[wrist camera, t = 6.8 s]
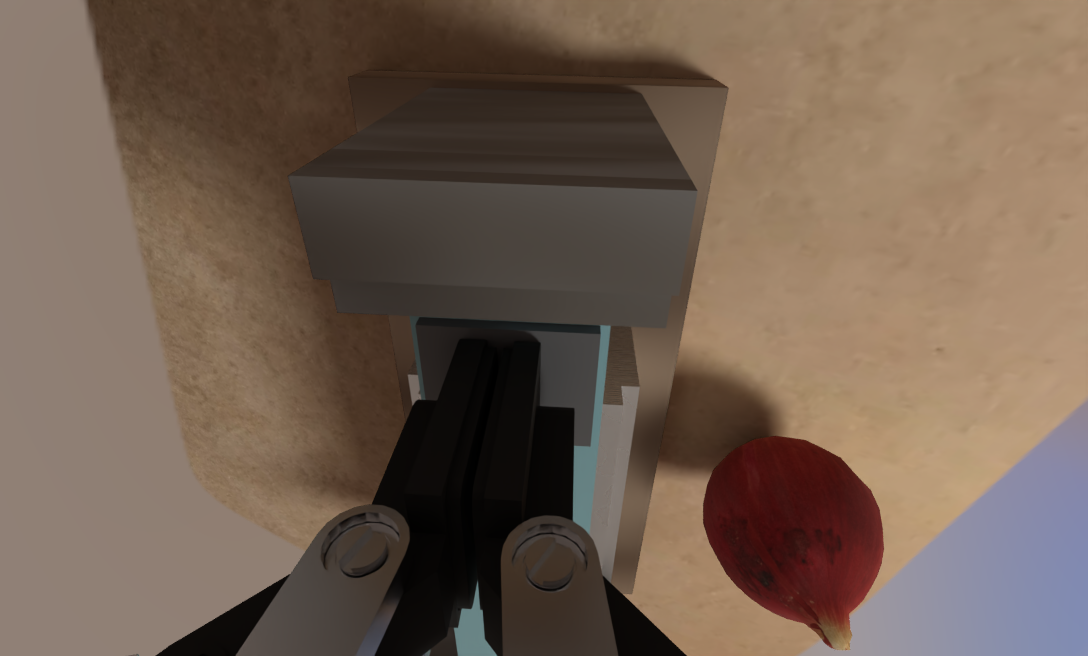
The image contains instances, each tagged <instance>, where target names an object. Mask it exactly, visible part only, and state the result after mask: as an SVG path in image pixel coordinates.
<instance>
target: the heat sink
mask: <svg viewBox="0 0 1088 656" xmlns="http://www.w3.org/2000/svg"><path fill="white" fill-rule="evenodd" d="M408 380H409V386H410V392H411V399H412V405H413V404H414V403H415V401H416V400H418V399H419V400H421V394H420V387H419V380H418V373H417V366H416V359H415V360H414V362H413V364H412V366H411V369H410V371H409V373H408ZM639 389H640V385H639V378H638V371H637V364H636V357H635V350H634V343H633V336H632V329H631V327H626V326H611V328H610V337H609V347H608V357H607V367H606V377H605V386H604V396H603V406H602V416H601V426H600V435H599V445H598V455H597V465H596V475H595V484H594V494H593V504H592V514H591V524H590V533H589V535H590V536H591V538H592V539H593V541H594V543H595V546H596V549H597V551H598V555H599V560H600V565H601V570H602V575H603V576H604V577H605V578H606V579H607V580H608V581H609V582H610V583H611V578H612V571H613V564H614V558H615V551H616V544H617V537H618V531H619V524H620V517H621V510H622V504H623V497H624V490H625V484H626V477H627V470H628V463H629V457H630V450H631V443H632V436H633V430H634V423H635V416H636V409H637V403H638V396H639Z"/></svg>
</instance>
